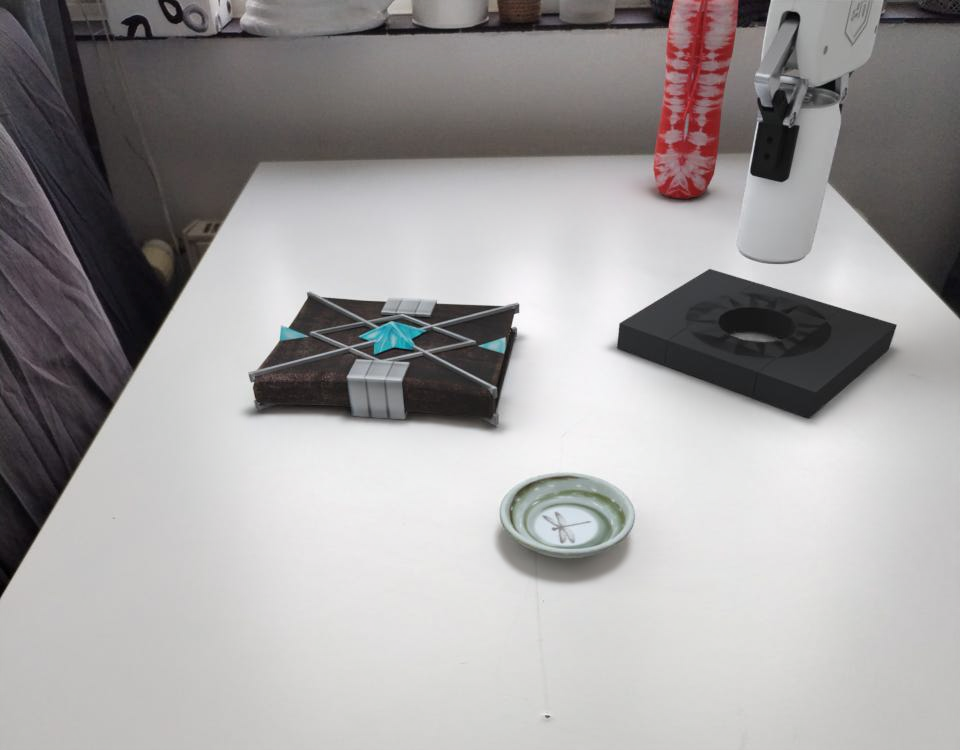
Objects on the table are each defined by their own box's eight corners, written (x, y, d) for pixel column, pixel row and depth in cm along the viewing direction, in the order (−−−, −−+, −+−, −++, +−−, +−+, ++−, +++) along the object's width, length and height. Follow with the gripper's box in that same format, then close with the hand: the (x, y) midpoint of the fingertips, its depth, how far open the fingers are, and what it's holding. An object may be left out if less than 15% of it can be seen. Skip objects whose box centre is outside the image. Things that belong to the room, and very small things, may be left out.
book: (254, 412, 78) (242, 359, 75) (310, 325, 90) (302, 276, 87) (497, 428, 76) (497, 374, 72) (522, 336, 88) (523, 286, 84)
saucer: (659, 549, 64) (663, 522, 62) (545, 596, 61) (546, 569, 59) (582, 482, 70) (584, 456, 68) (476, 522, 67) (475, 495, 65)
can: (731, 261, 77) (758, 104, 68) (738, 233, 81) (765, 82, 73) (808, 269, 75) (846, 109, 67) (811, 240, 80) (847, 86, 71)
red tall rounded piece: (659, 170, 121) (685, -62, 103) (719, 175, 119) (756, -61, 101) (642, 201, 113) (667, -46, 95) (706, 207, 111) (743, -44, 93)
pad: (889, 349, 84) (897, 324, 82) (808, 418, 76) (816, 392, 74) (705, 292, 94) (709, 268, 92) (616, 347, 86) (619, 323, 84)
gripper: (843, -101, 54) (780, 206, 67) (954, -127, 63) (879, 148, 76) (735, -108, 58) (694, 185, 71) (854, -132, 67) (799, 132, 80)
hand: (790, 164), depth 73 cm, fingers closed on can, 6 cm apart
